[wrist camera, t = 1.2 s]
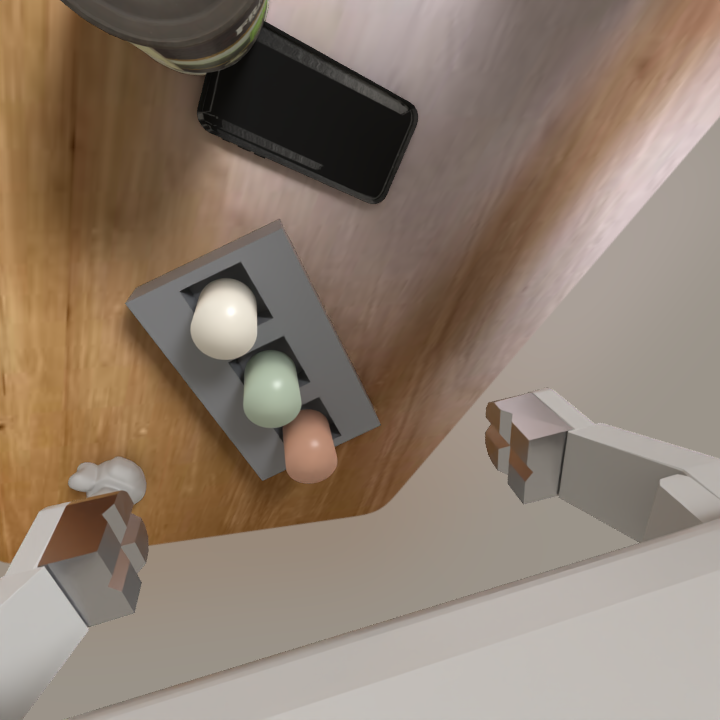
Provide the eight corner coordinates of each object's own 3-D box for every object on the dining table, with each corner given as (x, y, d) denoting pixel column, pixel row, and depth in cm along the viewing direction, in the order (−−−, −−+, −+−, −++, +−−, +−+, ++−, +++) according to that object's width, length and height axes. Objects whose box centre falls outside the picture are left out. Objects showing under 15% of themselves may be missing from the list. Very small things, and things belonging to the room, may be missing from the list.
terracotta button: (317, 401, 41) (324, 435, 36) (336, 434, 43) (345, 469, 39) (274, 422, 41) (276, 457, 36) (295, 453, 43) (300, 490, 39)
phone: (224, -2, 28) (423, 109, 33) (225, 3, 29) (418, 109, 34) (192, 127, 31) (380, 209, 36) (194, 126, 32) (377, 207, 37)
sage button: (281, 341, 37) (285, 371, 33) (304, 380, 39) (310, 412, 35) (234, 364, 37) (232, 396, 33) (260, 401, 39) (261, 436, 35)
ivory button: (238, 268, 34) (236, 290, 29) (266, 316, 36) (268, 343, 31) (186, 293, 34) (176, 319, 29) (218, 339, 36) (213, 369, 32)
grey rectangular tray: (279, 219, 36) (281, 228, 33) (372, 405, 47) (380, 425, 44) (135, 288, 36) (125, 303, 33) (261, 457, 47) (262, 480, 44)
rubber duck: (134, 497, 46) (113, 563, 39) (68, 473, 43) (33, 540, 36) (161, 461, 44) (145, 524, 38) (95, 434, 42) (64, 497, 35)
